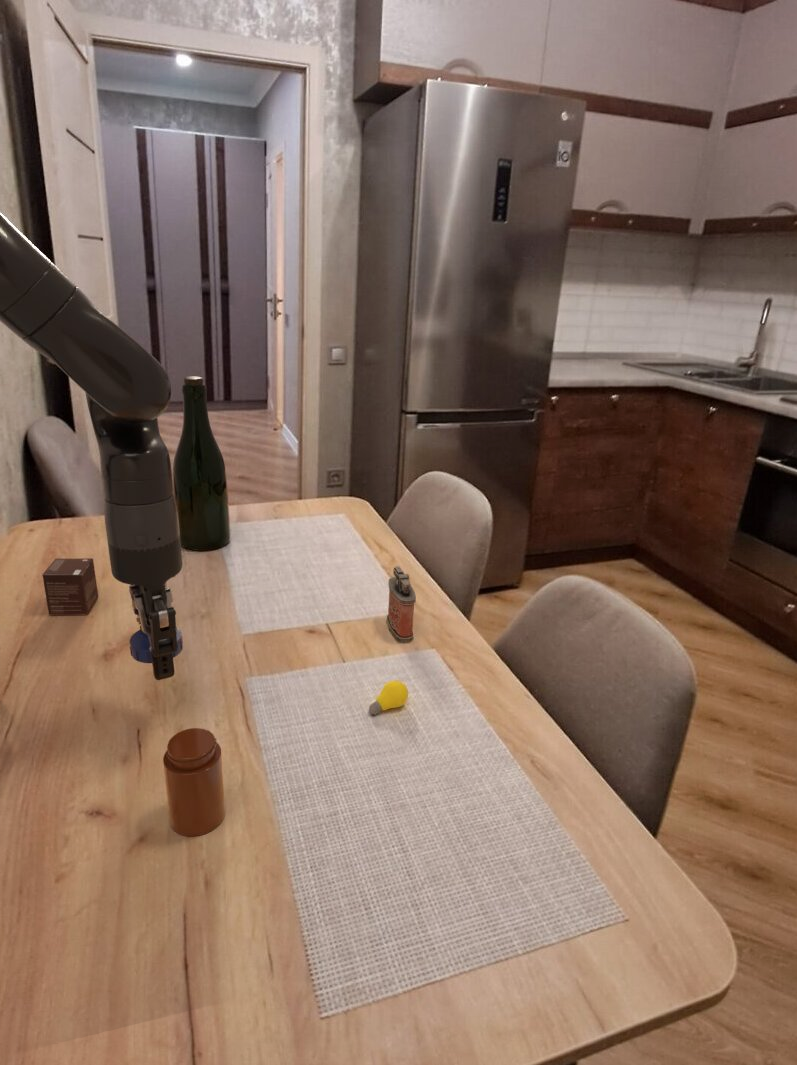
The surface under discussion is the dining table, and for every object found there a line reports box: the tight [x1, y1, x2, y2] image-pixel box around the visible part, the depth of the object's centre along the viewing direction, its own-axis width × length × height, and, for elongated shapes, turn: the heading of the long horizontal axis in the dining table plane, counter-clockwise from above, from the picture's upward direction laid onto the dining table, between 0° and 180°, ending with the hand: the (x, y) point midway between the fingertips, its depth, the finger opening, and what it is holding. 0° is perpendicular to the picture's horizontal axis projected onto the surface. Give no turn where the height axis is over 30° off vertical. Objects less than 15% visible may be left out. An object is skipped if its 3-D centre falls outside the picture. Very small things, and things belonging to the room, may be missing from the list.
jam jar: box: [162, 727, 226, 837], centre depth 68 cm, size 6×6×10 cm
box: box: [42, 557, 99, 616], centre depth 107 cm, size 6×6×7 cm
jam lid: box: [129, 626, 184, 664], centre depth 79 cm, size 6×6×2 cm
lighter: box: [386, 565, 417, 644], centre depth 105 cm, size 8×3×10 cm, turn 17°
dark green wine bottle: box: [172, 375, 231, 552], centre depth 129 cm, size 10×10×33 cm
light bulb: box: [368, 680, 409, 716], centre depth 88 cm, size 3×6×4 cm, turn 128°
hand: (158, 662), depth 80 cm, fingers closed on jam lid, 5 cm apart
